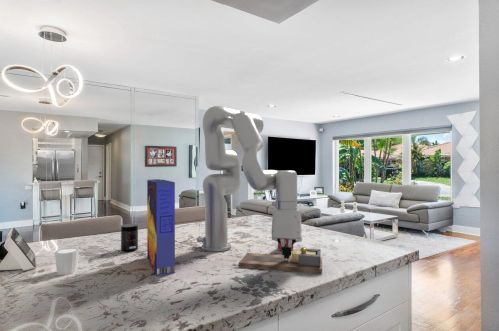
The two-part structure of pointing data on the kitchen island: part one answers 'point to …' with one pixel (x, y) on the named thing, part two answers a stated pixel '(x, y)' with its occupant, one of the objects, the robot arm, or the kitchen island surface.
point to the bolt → (303, 251)
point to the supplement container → (129, 237)
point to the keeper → (310, 258)
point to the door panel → (275, 263)
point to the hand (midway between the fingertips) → (286, 257)
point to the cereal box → (161, 226)
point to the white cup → (66, 261)
